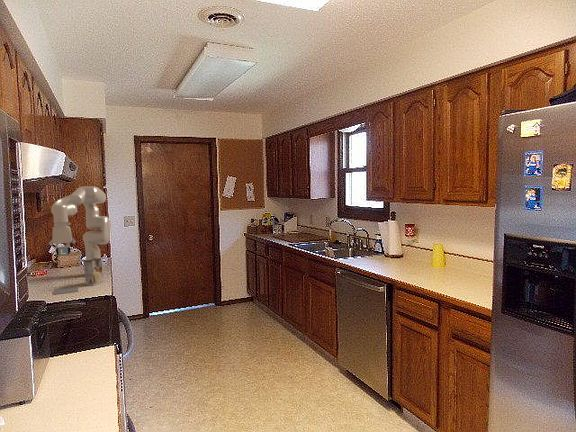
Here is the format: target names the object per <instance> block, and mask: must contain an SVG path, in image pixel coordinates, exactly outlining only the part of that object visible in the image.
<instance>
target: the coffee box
mask: <svg viewBox="0 0 576 432" xmlns="http://www.w3.org/2000/svg"><path fill="white" fill-rule="evenodd" d="M83 269H84V281H85V282H84V283H85V286H95V285H98V284H101V283H103V282H104V277H103V275H104V274H103V275H102V271H103V265H102V258H93V259H89V260H86V259H85V260H83Z"/></svg>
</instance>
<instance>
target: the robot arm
mask: <svg viewBox="0 0 576 432" xmlns="http://www.w3.org/2000/svg"><path fill="white" fill-rule="evenodd" d="M106 201H107V196H106V193H105V192H104V191H103V190H102V189H101V188H99V187H97V186H94V185H92V186H91V185H89V186H88V185H85V186H78V187H77V188H76V189H75V190H74V191H73V192H71V194H69V195H67V196H64V197H62V198H59V199H58V200H56V201H55V202H54V203H53V204H52V205H51V207H50V212H51V214H52V216H53V224H54V225H53V227H52V239H51V240H50V241H49V242H48V245H50V246H51V247H53V248H54V249H55V254H56V255H57V256H59V254H58V247H59V244H60V245H61V244H66V245H67V246H68V255H70V254H71V247H72V246H73V245H74V244H75V243H77V240H76V239H75V238H74V237H73V236H72V235H73V234H72V230H71V227H70V225H72V222H69V216H75V215H76V214H77V213H78V206H80V205H83V206H84V208H85V226H86V229H88V230H95V231H86V232H84V234H83V236H82V240H83V244H84V248H85V249H84V250H85V261H86V260H89V259H93V258H101V249H100V247H99V246H98V245H108V244H109V243H110V241H111V220H110V217H108V216H106V215H100V209H99V207H98V205H97V204H103V203H104V204H105V202H106ZM98 230H99V231H98ZM100 230H101V231H100ZM101 259H102V258H101ZM102 275H105V271H103V270H102Z"/></svg>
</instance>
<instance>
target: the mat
mask: <svg viewBox="0 0 576 432" xmlns="http://www.w3.org/2000/svg"><path fill="white" fill-rule="evenodd" d="M77 292H79V286H78V285H77V286H70V287H63V288H55V289H54V290H53V294H52V295H53V296H57V295H61V294H62V295H63V294H71V293H77Z"/></svg>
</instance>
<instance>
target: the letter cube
mask: <svg viewBox="0 0 576 432" xmlns="http://www.w3.org/2000/svg"><path fill="white" fill-rule="evenodd" d="M58 254H59V255H58V257H67V256H68V257H69V254H68V245H67V246H58Z"/></svg>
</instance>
